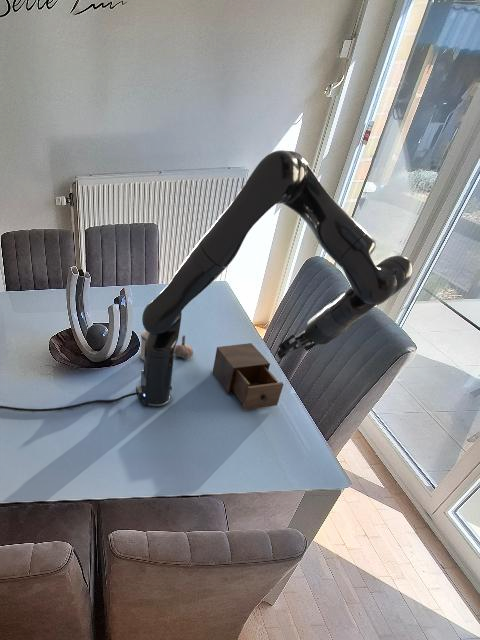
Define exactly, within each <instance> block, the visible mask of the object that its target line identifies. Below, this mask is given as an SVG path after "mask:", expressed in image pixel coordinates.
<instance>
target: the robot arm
mask: <svg viewBox="0 0 480 640" xmlns="http://www.w3.org/2000/svg"><path fill="white" fill-rule="evenodd" d="M281 204H283V206H286V207H287V208H289V209H291V210H292V211H293V212H295V213H296V214H297V215H298V216H299V217H300V218H301V219H302V220H303V221H304V222H305V223H306V224H307V226H308V227H309V229H310V231H311V232H312V235H313V237H314V238H315V239H316V241H317V243H318V244H319V246H320V247H321V248H322V249H323V251H324V252H326V254H327V255H328V256H329V257H330V258H331V259H332V260H333V261H334V262H335V263H336V265H338V266H339V267H340V268H341V269H342V271H343V273H344V275H345V277H346V280H347V281H348V283H349V285H350V287H349V288H348V289H346V290H345V291H343V292H342V293H341V294H340V295H339V296H338V297H336V298H335V299H334V300H332V301H330V302H329V303H327V304H326V305H325V306H324V307H323V308H321V309H320V310H319V311H318V312H316V313H315V314H314V315H313V316H312V317H310V319H309V320H307V323H306V326H305V329H303V330H302V331H301V332H300V333H298V334H291V335H290V336H289V337H288V338H286V339H285V340H284V341H282V342H281V343H280V344H279V345H278V348H279V349H278V350H277V352H276V354H277V357H278V358H279V360H280V359H283V358H284V357H286V356H287V355H288V354H290V353H291V352H293V351H300V350H302V349H305V351H306V352H308V351H310V350H312V349H313V348H314V347H316V346H319V345H327V344H328V343H330V342H331V341H333V340H334V339H336V338H337V337H338V336H340V335H342V334H343V333H344V332H345V331H347V330H348V329H349V328H350V327H351V326H353V324H355V323H357V322H358V321H359V320H360V319H362V318H363V317H364V316H366V315H367V314H368V313H370V311H371V310H372V309H374V308H375V307H377V306H380V305H381V304H384V303H385V302H387V301H388V300H389V299H390V298H392V297H393V296H395V295H396V294H397V293H398V292H400V291H401V290H402V289H404V288H405V287H406V286H407V285H408V283H409V282H410V280H411V278H412V276H413V273H414V272H413V271H414V268H413V264H412V262H411V260H410V259H408V257H406V256H403V255H392V256H389V257H387V258H385V259H383V260H381V261H380V262H379V263H377V264H375V263H374V261H373V258H372V254H373V253H374V251H375V249H376V247H377V244H376V240H375V239H374V238H373V237H372V236H371V235H370V234H369V233H368V231H366V229H364V228H363V227H362V226H361V225H360V224H359V223H358V222H357V221H356V220H355V219H354V218H353V217H352V216H351V215H350V214H349V213H348V212H347V211H346V210H345V209H344V208H342V207H341V206H340V204H338V202H336V200H335V199H334V198H333V197H332V196H331V194H329V192H328V191H327V190H326V189H325V187H324V186H323V185H322V183H321V182H320V181H319V179H318V177H317V176H316V175H315V173H314V172H313V170H312V168H311V167H310V165H309V163H308V162H307V161H306V159H305V158H304V156H303V155H301V153H299V152H297V151H292V150H279V149H277V150H274V151H272V152H270V153H269V154H267V155H266V156H264V157H263V158H262V159H261V160H260V161H259V163H258V164H257V165H256V166H255V168H254V169H253V171H252V172H251V174H250V175H249V177H248V178H247V180H246V181H245V183H244V184H243V185H242V187H241V188H240V190H239V192H238V193H237V195H236V196H235V197H234V199H233V201H232V202H231V203H230V204H229V206H228V207H227V208H226V209H225V210H224V212H223V213H222V214H221V215H220V216H219V217H218V218H217V220H216V221H215V223H213V225H212V226H211V227H210V228H209V230H208V231H207V232H206V233H205V234H204V235H203V236H202V237H201V239H200V240H199V241H198V242H197V244H196V245H195V246H194V248H193V249H192V250H191V251H190V253H189V254H188V256H187V257H186V258H185V260H184V261H183V262H182V264H181V265H180V266H179V268H178V270H177V271H176V272H175V274H174V275H173V276H172V278H171V280H170V281H169V283H168V284H167V285H166V286H165V287H164V288H163V290H162V291H161V292H160V293H159V294H157V296H156V297H155V298H153V299H152V300H151V301H150V302H149V303H148V304H147V305H145V307H144V310H143V312H142V317H141V318H142V319H141V320H142V321H141V322H142V326H143V328H144V330H146V331H147V332H149V335H148V337H147V339H146V342H145V351H144V360H143V369H142V370H141V373H140V385H136V386H135V392H131V393H128V394H125V395H122V396H120V397H118V398H113V399H94V400H88V401H85V402H80V403H78V404H73V405H66V406H60V407H51V408H24V407H14V406H8V405H7V406H6V405H0V409H4V410H12V411H13V410H14V411H21V412H51V411H52V412H53V411H61V410H68V409H73V408H78V407H81V406H85V405H89V404H95V403H114V402H119V401H121V400H123V399H125V398H129V397H133V396H137V398H138V400H139V401H141V402H142V404H143V406H144V407H145V406H148V407H154V408H159V407H164V406H166V405H167V404H169V402H170V399H171V392H173V391H172V389H173V387H172V381H173V370H174V361H175V354H174V353H175V346H176V345H178V341H179V336H180V329H181V322H182V314H183V310H184V309H185V307H187V306H188V304H190V303H191V301H193V300H194V299H195V298H197V296H199V295H200V294H201V293H202V292H204V290H206V289H207V288H208V287H209V286H210V285H211V284H212V283H213V282H214V281H215V280H216V279H217V278H218V277H220V275H221V274H223V272H224V271H225V270H226V269H227V268H228V266H230V264H231V263H232V262H233V261H234V259H235V258H236V256H237V254H238V253H239V251H240V249H241V247H242V245H243V243H244V240H245V239H246V237H247V235H248V233H249V232H250V231H251V229H252V228H253V227H254V225H256V224H257V223H258V221H259V220H260V219H262V217H263V216H265V214H267V213H268V212H269V210H271V209H272V208H273V207H274V206H275V205H281ZM299 344H300V345H299Z"/></svg>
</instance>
